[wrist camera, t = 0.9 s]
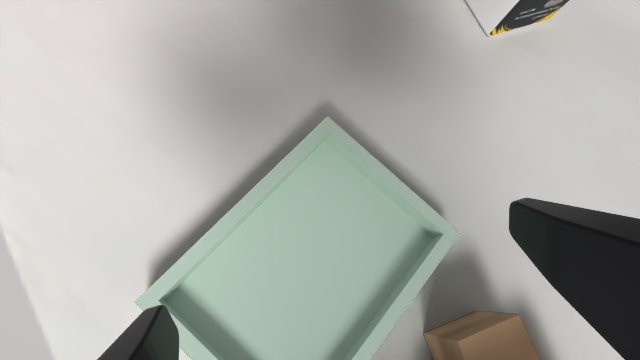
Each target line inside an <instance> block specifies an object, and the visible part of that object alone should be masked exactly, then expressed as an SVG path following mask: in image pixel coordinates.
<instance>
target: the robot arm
mask: <svg viewBox="0 0 640 360" xmlns="http://www.w3.org/2000/svg"><path fill="white" fill-rule="evenodd" d="M509 231H510V234H511V236H512V237H513V239H514V240H515V241H516V243H517V244H518V245H519V246H520V247H521V249H522V250H523V251H524V252H525V254H526V255H527V256H528V257H529V259H530V260H531V261H532V262H533V264H534V265H535V266H536V267H537V268H538V270H539V271H540V272H541V273H542V275H543V276H544V277H545V278H546V279H547V281H548V282H549V283H550V284H551V285H552V286H553V287H554V288H555V289H556V290H557V291H558V292H559V293H560V294H561V295H562V296H563V297H564V298H565V299H566V300H567V302H568V303H569V304H570V305H571V306H572V307H573V308H574V309H575V310H576V311H577V312H578V313H579V314H580V315H581V316H582V317H583V318H584V319H585V320H586V321H587V322H588V323H589V324H590V325H591V326H592V327H593V328H594V329H595V330H596V331H597V332H598V333H599V334H600V335H601V336H602V337H603V338H604V339H605V340H606V341H607V342H608V343H609V344H610V345H611V346H612V347H613V348H614V349H615V350H616V351H617V352H618V353H619V354H620V355H621V356H622V357H623V358H624V359H625V360H640V219H637V218H632V217H627V216H622V215H616V214H611V213H606V212H600V211H595V210H590V209H585V208H579V207H574V206H569V205H563V204H558V203H553V202H547V201H542V200H537V199H532V198H523V199H520V200H516V201H513V202H512V203H511V204H510V207H509ZM97 360H179V332H178V329H177V326H176V324H175V322H174V321H173V319H172V317H171V315H170V313H169V311H168V309H167V307H166V306H165V305H157V306H154V307H151V308H147V309H145V310H144V311H143V312H142V313H141V314H140V315H139V316H138V317H137V319H136V320H135V321H134V322H133V323H132V324H131V325H130V326H129V327H128V328H127V329H126V330H125V331H124V332H123V333H122V334H121V335H120V336H119V337H118V338H117V340H116V341H115V342H114V343H113V344H112V345H111V346H110V347H109V348H108V349H107V350H106V351H105V352H104V353H103V354H102V355H101V356H100V357H99V358H98V359H97Z"/></svg>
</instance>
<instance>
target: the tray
mask: <svg viewBox="0 0 640 360" xmlns="http://www.w3.org/2000/svg"><path fill="white" fill-rule="evenodd" d="M459 235H460V232H459V231H458V230H456V229H455V228H454V227H453V226H452V225H451V224H450V223H448V222H447V221H446V220H445V219H444V218H443V217H442V216H441V215H439V214H438V213H437V212H436V211H435V210H434V209H433V208H431V207H430V206H429V205H428V204H427V203H426V202H425V201H423V200H422V199H421V198H420V197H419V196H418V195H417V194H416V193H414V192H413V191H412V190H411V189H410V188H409V187H408V186H406V185H405V184H404V183H403V182H402V181H401V180H400V179H399V178H397V177H396V176H395V175H394V174H393V173H392V172H391V171H389V170H388V169H387V168H386V167H385V166H384V165H383V164H381V163H380V162H379V161H378V160H377V159H376V158H375V157H374V156H372V155H371V154H370V153H369V152H368V151H367V150H366V149H364V148H363V147H362V146H361V145H360V144H359V143H358V142H357V141H355V140H354V139H353V138H352V137H351V136H350V135H349V134H347V133H346V132H345V131H344V130H343V129H342V128H341V127H339V126H338V125H337V124H336V123H335V122H334V121H333V120H332V119H330V118H329V117H328V116H327V117H326V118H325V119H324V120H323V121H322V122H321V123H320V124H319V125H318V126H316V127H315V128H314V129H313V130H312V131H311V132H310V133H309V134H308V135H307V136H306V137H305V138H304V139H303V140H302V141H301V142H300V143H299V144H298V145H297V146H296V147H295V148H294V149H293V150H292V151H291V152H290V153H288V154H287V155H286V156H285V157H284V158H283V159H282V160H281V161H280V162H279V163H278V164H277V165H276V166H275V167H274V168H273V169H272V170H271V171H270V172H269V173H268V174H267V175H266V176H265V177H264V178H263V179H262V180H261V181H259V182H258V183H257V184H256V185H255V186H254V187H253V188H252V189H251V190H250V191H249V192H248V193H247V194H246V195H245V196H244V197H243V198H242V199H241V200H240V201H239V202H238V203H237V204H236V205H235V206H234V207H233V208H231V209H230V210H229V211H228V212H227V213H226V214H225V215H224V216H223V217H222V218H221V219H220V220H219V221H218V222H217V223H216V224H215V225H214V226H213V227H212V228H211V229H210V230H209V231H208V232H207V233H206V234H205V235H203V236H202V237H201V238H200V239H199V240H198V241H197V242H196V243H195V244H194V245H193V246H192V247H191V248H190V249H189V250H188V251H187V252H186V253H185V254H184V255H183V256H182V257H181V258H180V259H179V260H178V261H177V262H176V263H174V264H173V265H172V266H171V267H170V268H169V269H168V270H167V271H166V272H165V273H164V274H163V275H162V276H161V277H160V278H159V279H158V280H157V281H156V282H155V283H154V284H153V285H152V286H151V287H150V288H149V289H148V290H146V291H145V292H144V293H143V294H142V295H141V296H140V297H139V298H138V299H137V300H136V301H135V303H136V304H137V305H138V306H139V307H140V308H141V309H142V310H143V311H144V310H145V309H147V308H151V307H154V306H157V305H165V306H166V307H167V309H168V311H169V313H170V315H171V317H172V319H173V321H174V322H175V324H176V326H177V329H178V332H179V347H180V348H181V349H182V350H183V351H184V352H185V353H186V354H187V355H188V356H189V357H190V358H191V359H192V360H371V358H372V357H373V356H374V354H375V353H376V351H377V350H378V349H379V347H380V346H381V344H382V343H383V342H384V340H385V339H386V337H387V336H388V335H389V333H390V332H391V330H392V329H393V328H394V326H395V325H396V323H397V322H398V321H399V319H400V318H401V316H402V315H403V314H404V312H405V311H406V309H407V308H408V307H409V305H410V304H411V302H412V301H413V299H414V298H415V297H416V295H417V294H418V292H419V291H420V290H421V288H422V287H423V285H424V284H425V283H426V281H427V280H428V278H429V277H430V276H431V274H432V273H433V271H434V270H435V269H436V267H437V266H438V264H439V263H440V262H441V260H442V259H443V257H444V256H445V255H446V253H447V252H448V250H449V249H450V247H451V246H452V245H453V243H454V242H455V240H456V239H457V238H458V236H459Z"/></svg>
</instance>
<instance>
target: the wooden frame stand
mask: <svg viewBox="0 0 640 360" xmlns="http://www.w3.org/2000/svg"><path fill="white" fill-rule="evenodd" d="M423 334H424V337H425V339H426V342H427V345H428V347H429V350H430V353H431V355H432V358H433V360H540V359H539V356H538V354H537V352H536V350H535V347H534V345H533V343H532V341H531V338H530V336H529V334H528V332H527V329H526V327H525V325H524V323H523V320H522V318H521V316H520V314H509V313H497V312H484V311H476V312H473V313H471V314H468V315H466V316H464V317H461V318H459V319H457V320H454V321H452V322H449V323H447V324H445V325H442V326H440V327H438V328H435V329H433V330H430V331H428V332H426V333H423Z"/></svg>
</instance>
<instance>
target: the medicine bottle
mask: <svg viewBox="0 0 640 360" xmlns="http://www.w3.org/2000/svg"><path fill="white" fill-rule="evenodd" d="M465 1H466V2H467V4H468V5H469V7H470V9H471V10H472V12H473V14H474V15H475V17H476V19H477V20H478V22H479V23H480V25H481V27H482V28H483V30H484V32H485V33H486V35H487V36H494V35H498V34H501V33H505V32H508V31H512V30H515V29H519V28H522V27H526V26H529V25H532V24H536V23H539V22H543V21H546V20H548V19H550V18H551V17H552V16H553V15H554V14H555V13H556V12H557V11H558V10H559V9H560V8H561V7H563V6H564V5H565V4H566V3H567V2H568V1H569V0H465Z"/></svg>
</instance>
